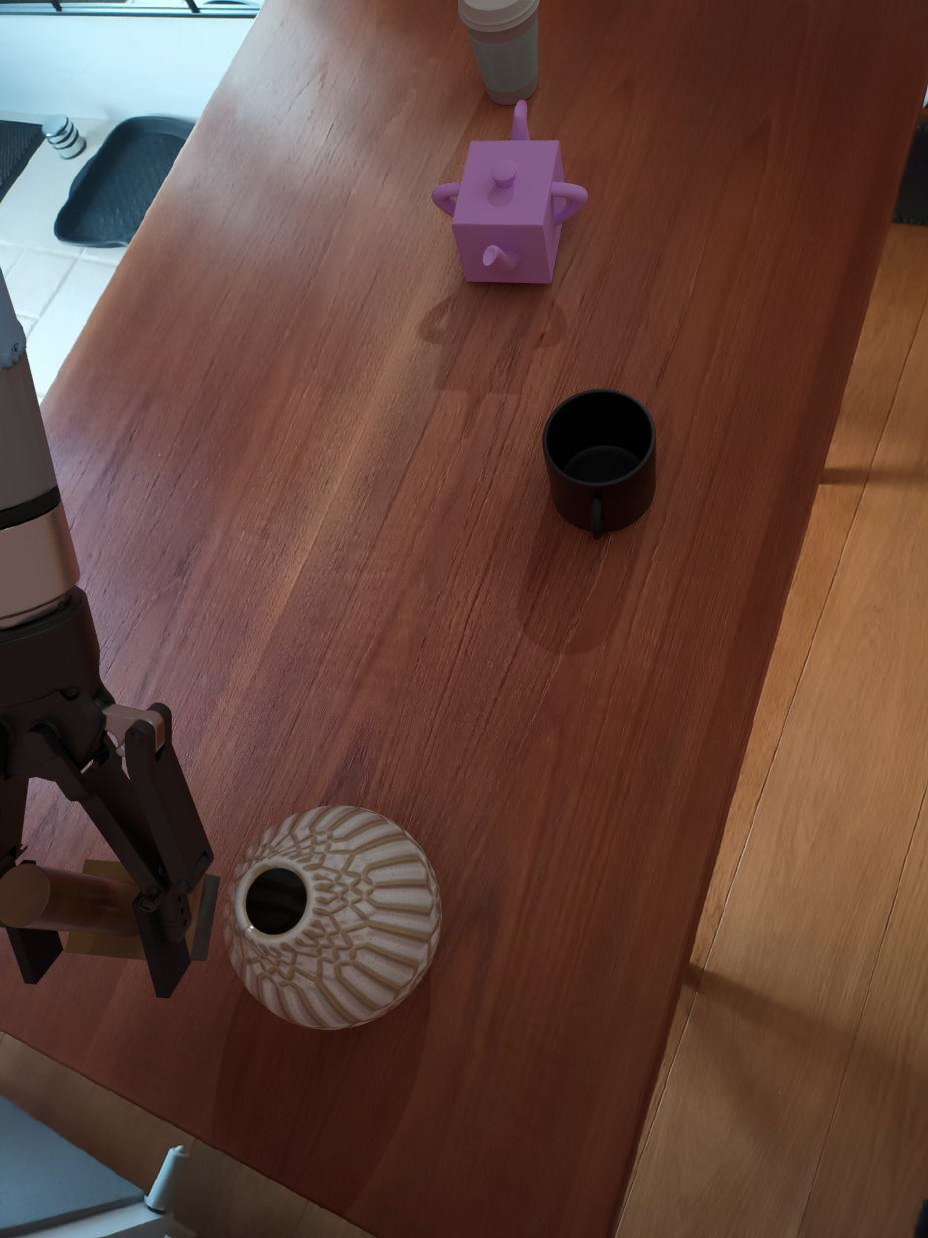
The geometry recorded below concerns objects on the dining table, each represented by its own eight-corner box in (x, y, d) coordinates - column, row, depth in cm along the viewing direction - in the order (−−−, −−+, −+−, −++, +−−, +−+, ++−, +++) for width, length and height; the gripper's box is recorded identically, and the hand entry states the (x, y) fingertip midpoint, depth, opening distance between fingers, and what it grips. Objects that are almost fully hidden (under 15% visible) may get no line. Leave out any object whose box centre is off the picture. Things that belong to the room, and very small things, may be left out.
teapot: (614, 263, 96) (609, 179, 86) (501, 332, 96) (483, 256, 86) (534, 174, 102) (521, 86, 92) (428, 238, 102) (403, 157, 92)
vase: (499, 920, 76) (451, 900, 57) (355, 1072, 74) (257, 1102, 55) (369, 782, 82) (288, 724, 63) (232, 919, 80) (107, 900, 61)
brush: (99, 954, 59) (-60, 947, 46) (117, 865, 61) (-31, 834, 48) (209, 965, 58) (77, 960, 45) (224, 873, 60) (101, 843, 46)
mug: (546, 559, 86) (535, 514, 78) (555, 442, 90) (545, 388, 82) (652, 561, 84) (652, 515, 76) (657, 442, 88) (657, 386, 80)
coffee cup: (516, 46, 109) (500, -59, 98) (565, 81, 106) (555, -24, 95) (459, 90, 108) (437, -11, 97) (507, 126, 105) (491, 26, 94)
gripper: (234, 573, 46) (300, 940, 55) (-127, 570, 50) (-8, 913, 59) (161, 641, 39) (250, 1046, 48) (-250, 631, 43) (-94, 1007, 53)
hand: (108, 972), depth 54 cm, fingers closed on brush, 7 cm apart
